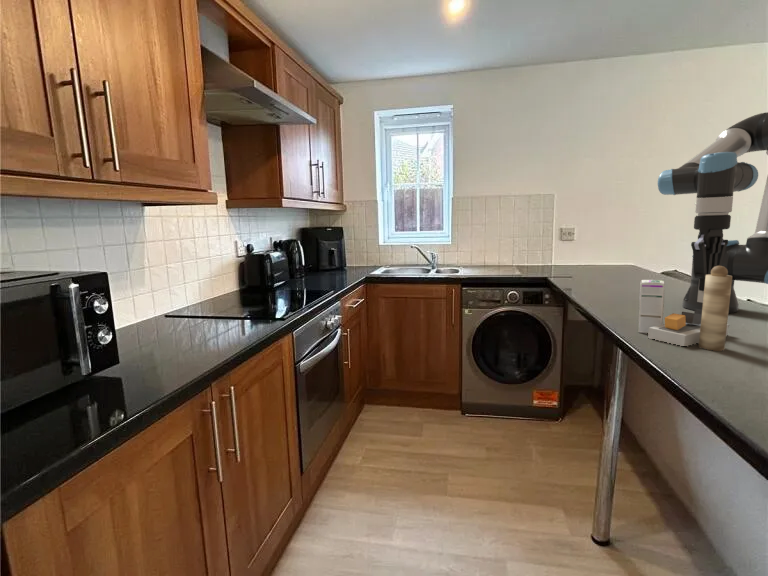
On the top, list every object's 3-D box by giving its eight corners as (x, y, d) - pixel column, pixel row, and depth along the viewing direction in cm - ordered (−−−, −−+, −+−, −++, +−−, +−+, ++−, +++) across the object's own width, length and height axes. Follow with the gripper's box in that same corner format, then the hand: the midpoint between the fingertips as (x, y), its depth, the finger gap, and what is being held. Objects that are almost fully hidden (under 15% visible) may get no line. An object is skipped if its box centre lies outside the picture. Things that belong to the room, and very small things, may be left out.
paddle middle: (687, 322, 113) (689, 312, 113) (699, 324, 110) (701, 314, 110) (679, 321, 111) (682, 311, 111) (692, 323, 109) (694, 313, 109)
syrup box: (662, 335, 114) (666, 283, 111) (636, 332, 117) (640, 281, 115) (661, 330, 119) (665, 280, 116) (637, 327, 122) (640, 279, 119)
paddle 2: (700, 319, 116) (702, 309, 115) (712, 321, 113) (714, 311, 113) (692, 318, 114) (695, 308, 114) (705, 320, 111) (707, 310, 111)
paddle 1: (673, 323, 110) (673, 313, 110) (685, 325, 108) (685, 315, 107) (665, 327, 109) (664, 317, 108) (677, 330, 106) (676, 320, 106)
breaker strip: (691, 328, 120) (692, 317, 119) (727, 335, 112) (729, 323, 111) (647, 338, 111) (648, 326, 111) (683, 347, 103) (685, 334, 103)
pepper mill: (705, 343, 106) (713, 264, 102) (728, 348, 101) (738, 265, 98) (694, 346, 103) (702, 265, 100) (717, 352, 99) (726, 267, 96)
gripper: (710, 213, 115) (702, 297, 119) (682, 215, 109) (675, 302, 113) (743, 213, 108) (733, 301, 112) (715, 214, 103) (706, 307, 107)
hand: (704, 302), depth 113 cm, fingers closed
